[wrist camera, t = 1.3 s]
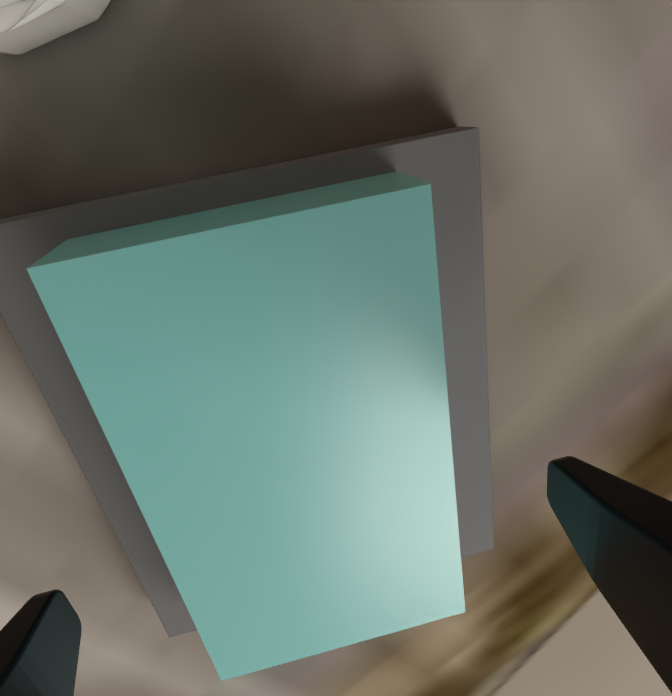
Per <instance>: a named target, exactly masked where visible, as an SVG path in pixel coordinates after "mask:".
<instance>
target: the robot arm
mask: <svg viewBox="0 0 672 696" xmlns="http://www.w3.org/2000/svg"><path fill="white" fill-rule="evenodd" d="M547 497H548V501H549V503H550V506H551V508H552V509H553V511H554V513H555V515H556V516H557V518H558V520H559V522H560V524H561V525H562V527H563V529H564V531H565V532H566V534H567V536H568V538H569V540H570V541H571V543H572V545H573V547H574V548H575V550H576V552H577V554H578V556H579V557H580V559H581V561H582V563H583V564H584V566H585V568H586V570H587V571H588V573H589V575H590V576H591V578H592V580H593V581H594V583H595V584H596V586H597V587H598V589H599V590H600V592H601V593H602V595H603V596H604V598H605V599H606V600H607V602H608V603H609V605H610V606H611V608H612V609H613V610H614V612H615V613H616V615H617V616H618V618H619V619H620V620H621V622H622V623H623V624H624V626H625V627H626V629H627V630H628V632H629V633H630V635H631V636H632V637H633V639H634V640H635V642H636V643H637V645H638V646H639V647H640V649H641V650H642V652H643V653H644V654H645V656H646V657H647V659H648V660H649V662H650V663H651V664H652V666H653V667H654V669H655V670H656V672H657V673H658V674H659V676H660V677H661V679H662V680H663V682H664V683H665V684H666V686H667V687H668V689H669V690H670V692H671V693H672V501H669V500H667V499H665V498H663V497H661V496H658V495H656V494H654V493H652V492H650V491H648V490H645V489H643V488H641V487H639V486H637V485H634V484H632V483H630V482H628V481H626V480H623V479H621V478H619V477H617V476H615V475H612V474H610V473H608V472H606V471H604V470H601V469H599V468H597V467H595V466H593V465H590V464H588V463H586V462H584V461H582V460H579V459H577V458H575V457H572V456H566V457H562V458H559V459H555V460H552V461H550V462H549V464H548V472H547ZM80 638H81V622H80V619H79V617H78V615H77V613H76V612H75V610H74V609H73V607H72V606H71V604H70V602H69V601H68V599H67V598H66V596H65V595H64V593H63V592H62V591H60V590H52V591H48V592H44V593H40V594H37V595H35V596H33V597H32V598H31V599H29V600H28V601H27V603H26V604H25V605H24V606H23V607H22V608H21V609H20V610H19V611H18V612H17V613H16V614H15V616H14V617H13V618H12V619H11V620H10V621H9V622H8V623H7V624H6V625H5V626H4V628H3V629H2V630H1V631H0V696H73V694H74V686H75V678H76V670H77V662H78V654H79V646H80Z"/></svg>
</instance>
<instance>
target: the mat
mask: <svg viewBox="0 0 672 696" xmlns="http://www.w3.org/2000/svg"><path fill="white" fill-rule="evenodd" d="M396 171H397V172H400V173H403V174H405V175H408V176H411V177H413V178H416V179H419V180H422V181H424V182H427V183H430V184H431V194H432V206H433V218H434V231H435V243H436V256H437V268H438V280H439V293H440V305H441V318H442V330H443V342H444V355H445V367H446V380H447V392H448V404H449V417H450V429H451V442H452V454H453V466H454V479H455V491H456V503H457V516H458V528H459V541H460V553H461V558H462V557H466V556H469V555H473V554H477V553H480V552H484V551H488V550H491V549H494V536H493V509H492V481H491V454H490V427H489V399H488V372H487V345H486V317H485V290H484V263H483V235H482V208H481V181H480V153H479V128H477V127H460V126H459V127H454V128H449V129H444V130H439V131H434V132H429V133H424V134H419V135H414V136H409V137H404V138H399V139H394V140H389V141H384V142H379V143H374V144H369V145H364V146H359V147H354V148H349V149H344V150H339V151H334V152H329V153H324V154H319V155H314V156H309V157H305V158H300V159H295V160H290V161H285V162H280V163H275V164H270V165H265V166H260V167H255V168H250V169H245V170H240V171H235V172H230V173H225V174H220V175H215V176H210V177H205V178H200V179H195V180H190V181H185V182H180V183H175V184H170V185H165V186H160V187H155V188H150V189H145V190H141V191H136V192H131V193H126V194H121V195H116V196H111V197H106V198H101V199H96V200H91V201H86V202H81V203H76V204H71V205H66V206H61V207H56V208H51V209H46V210H41V211H36V212H31V213H26V214H21V215H16V216H11V217H6V218H1V219H0V313H1V315H2V317H3V319H4V321H5V323H6V325H7V327H8V328H9V330H10V332H11V334H12V336H13V338H14V340H15V342H16V344H17V346H18V348H19V350H20V352H21V353H22V355H23V357H24V359H25V361H26V363H27V365H28V367H29V369H30V371H31V373H32V375H33V377H34V378H35V380H36V382H37V384H38V386H39V388H40V390H41V392H42V394H43V396H44V398H45V400H46V402H47V403H48V405H49V407H50V409H51V411H52V413H53V415H54V417H55V419H56V421H57V423H58V425H59V427H60V428H61V430H62V432H63V434H64V436H65V438H66V440H67V442H68V444H69V446H70V448H71V450H72V452H73V453H74V455H75V457H76V459H77V461H78V463H79V465H80V467H81V469H82V471H83V473H84V475H85V477H86V478H87V480H88V482H89V484H90V486H91V488H92V490H93V492H94V494H95V496H96V498H97V500H98V502H99V503H100V505H101V507H102V509H103V511H104V513H105V515H106V517H107V519H108V521H109V523H110V525H111V527H112V528H113V530H114V532H115V534H116V536H117V538H118V540H119V542H120V544H121V546H122V548H123V550H124V552H125V553H126V555H127V557H128V559H129V561H130V563H131V565H132V567H133V569H134V571H135V573H136V575H137V577H138V578H139V580H140V582H141V584H142V586H143V588H144V590H145V592H146V594H147V596H148V598H149V600H150V602H151V603H152V605H153V607H154V609H155V611H156V613H157V615H158V617H159V619H160V621H161V623H162V625H163V627H164V628H165V630H166V632H167V634H168V636H169V637H173V636H177V635H180V634H184V633H188V632H191V631H195V630H197V628H196V626H195V624H194V622H193V620H192V618H191V616H190V613H189V611H188V609H187V607H186V605H185V603H184V601H183V599H182V597H181V594H180V592H179V590H178V588H177V586H176V584H175V582H174V580H173V577H172V575H171V573H170V571H169V569H168V567H167V565H166V563H165V561H164V558H163V556H162V554H161V552H160V550H159V548H158V546H157V544H156V542H155V539H154V537H153V535H152V533H151V531H150V529H149V527H148V525H147V523H146V520H145V518H144V516H143V514H142V512H141V510H140V508H139V506H138V504H137V501H136V499H135V497H134V495H133V493H132V491H131V489H130V487H129V485H128V482H127V480H126V478H125V476H124V474H123V472H122V470H121V468H120V465H119V463H118V461H117V459H116V457H115V455H114V453H113V451H112V449H111V446H110V444H109V442H108V440H107V438H106V436H105V434H104V432H103V430H102V427H101V425H100V423H99V421H98V419H97V417H96V415H95V413H94V411H93V408H92V406H91V404H90V402H89V400H88V398H87V396H86V394H85V392H84V389H83V387H82V385H81V383H80V381H79V379H78V377H77V375H76V373H75V370H74V368H73V366H72V364H71V362H70V360H69V358H68V356H67V354H66V351H65V349H64V347H63V345H62V343H61V341H60V339H59V337H58V334H57V332H56V330H55V328H54V326H53V324H52V322H51V320H50V318H49V315H48V313H47V311H46V309H45V307H44V305H43V303H42V301H41V299H40V296H39V294H38V292H37V290H36V288H35V286H34V284H33V282H32V280H31V277H30V275H29V273H28V271H27V268H28V267H29V266H31V265H32V264H34V263H35V262H36V261H38V260H39V259H41V258H42V257H43V256H45V255H46V254H47V253H49V252H50V251H52V250H53V249H54V248H56V247H57V246H59V245H60V244H61V243H63V242H64V241H66V240H67V239H71V238H76V237H81V236H86V235H91V234H95V233H100V232H105V231H110V230H115V229H120V228H124V227H129V226H134V225H139V224H144V223H149V222H153V221H158V220H163V219H168V218H173V217H178V216H183V215H187V214H192V213H197V212H202V211H207V210H212V209H216V208H221V207H226V206H231V205H236V204H241V203H245V202H250V201H255V200H260V199H265V198H270V197H274V196H279V195H284V194H289V193H294V192H299V191H304V190H308V189H313V188H318V187H323V186H328V185H333V184H337V183H342V182H347V181H352V180H357V179H362V178H366V177H371V176H376V175H381V174H386V173H391V172H396Z"/></svg>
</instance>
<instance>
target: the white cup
mask: <svg viewBox="0 0 672 696" xmlns="http://www.w3.org/2000/svg"><path fill="white" fill-rule="evenodd" d="M110 1H111V0H0V53H2V54H13V55H21V54H24V53H26V52H28V51H30V50H33V49H35V48H37V47H39V46H41V45H44V44H46V43H48V42H50V41H52V40H55V39H57V38H59V37H61V36H63V35H66V34H68V33H70V32H72V31H74V30H77V29H79V28H81V27H83V26H85V25H88V24H90V23H92V22H94V21H96V20H98V19H99V18H100V16H101V15H102V13H103V12H104V10H105V9H106V7H107V6H108V4H109V3H110Z"/></svg>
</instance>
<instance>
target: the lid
mask: <svg viewBox="0 0 672 696" xmlns="http://www.w3.org/2000/svg"><path fill="white" fill-rule="evenodd" d="M27 271H28V273H29V275H30V277H31V280H32V282H33V284H34V286H35V288H36V290H37V292H38V294H39V296H40V299H41V301H42V303H43V305H44V307H45V309H46V311H47V313H48V315H49V318H50V320H51V322H52V324H53V326H54V328H55V330H56V332H57V334H58V337H59V339H60V341H61V343H62V345H63V347H64V349H65V351H66V354H67V356H68V358H69V360H70V362H71V364H72V366H73V368H74V370H75V373H76V375H77V377H78V379H79V381H80V383H81V385H82V387H83V389H84V392H85V394H86V396H87V398H88V400H89V402H90V404H91V406H92V408H93V411H94V413H95V415H96V417H97V419H98V421H99V423H100V425H101V427H102V430H103V432H104V434H105V436H106V438H107V440H108V442H109V444H110V446H111V449H112V451H113V453H114V455H115V457H116V459H117V461H118V463H119V465H120V468H121V470H122V472H123V474H124V476H125V478H126V480H127V482H128V485H129V487H130V489H131V491H132V493H133V495H134V497H135V499H136V501H137V504H138V506H139V508H140V510H141V512H142V514H143V516H144V518H145V520H146V523H147V525H148V527H149V529H150V531H151V533H152V535H153V537H154V539H155V542H156V544H157V546H158V548H159V550H160V552H161V554H162V556H163V558H164V561H165V563H166V565H167V567H168V569H169V571H170V573H171V575H172V577H173V580H174V582H175V584H176V586H177V588H178V590H179V592H180V594H181V597H182V599H183V601H184V603H185V605H186V607H187V609H188V611H189V613H190V616H191V618H192V620H193V622H194V624H195V626H196V628H197V630H198V632H199V635H200V637H201V639H202V641H203V643H204V645H205V647H206V649H207V651H208V654H209V656H210V658H211V660H212V662H213V664H214V666H215V668H216V670H217V673H218V675H219V677H220V679H221V681H223V680H227V679H231V678H234V677H238V676H241V675H245V674H248V673H252V672H255V671H259V670H262V669H266V668H269V667H273V666H276V665H280V664H284V663H287V662H291V661H294V660H298V659H301V658H305V657H308V656H312V655H315V654H319V653H322V652H326V651H330V650H333V649H337V648H340V647H344V646H347V645H351V644H354V643H358V642H361V641H365V640H368V639H372V638H376V637H379V636H383V635H386V634H390V633H393V632H397V631H400V630H404V629H407V628H411V627H414V626H418V625H422V624H425V623H429V622H432V621H436V620H439V619H443V618H446V617H450V616H453V615H457V614H460V613H464V612H465V603H464V590H463V578H462V565H461V553H460V541H459V528H458V516H457V503H456V491H455V479H454V466H453V454H452V442H451V429H450V417H449V404H448V392H447V380H446V367H445V355H444V342H443V330H442V318H441V305H440V293H439V280H438V268H437V256H436V243H435V231H434V218H433V206H432V194H431V184H430V183H427V182H424V181H422V180H419V179H416V178H413V177H411V176H408V175H405V174H403V173H400V172H397V171H396V172H391V173H386V174H381V175H376V176H371V177H366V178H362V179H357V180H352V181H347V182H342V183H337V184H333V185H328V186H323V187H318V188H313V189H308V190H304V191H299V192H294V193H289V194H284V195H279V196H274V197H270V198H265V199H260V200H255V201H250V202H245V203H241V204H236V205H231V206H226V207H221V208H216V209H212V210H207V211H202V212H197V213H192V214H187V215H183V216H178V217H173V218H168V219H163V220H158V221H153V222H149V223H144V224H139V225H134V226H129V227H124V228H120V229H115V230H110V231H105V232H100V233H95V234H91V235H86V236H81V237H76V238H71V239H67V240H66V241H64V242H63V243H61V244H60V245H59V246H57V247H56V248H54V249H53V250H52V251H50V252H49V253H47V254H46V255H45V256H43V257H42V258H41V259H39V260H38V261H36V262H35V263H34V264H32V265H31V266H29V267H28V268H27Z"/></svg>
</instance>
